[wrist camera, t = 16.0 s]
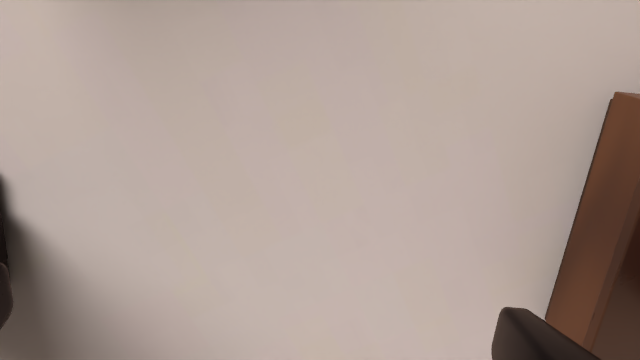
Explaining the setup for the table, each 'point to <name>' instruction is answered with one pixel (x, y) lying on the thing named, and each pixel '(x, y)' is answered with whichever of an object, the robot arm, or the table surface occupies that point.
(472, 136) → the table surface
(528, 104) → the table surface
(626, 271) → the cabinet
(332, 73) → the table surface
